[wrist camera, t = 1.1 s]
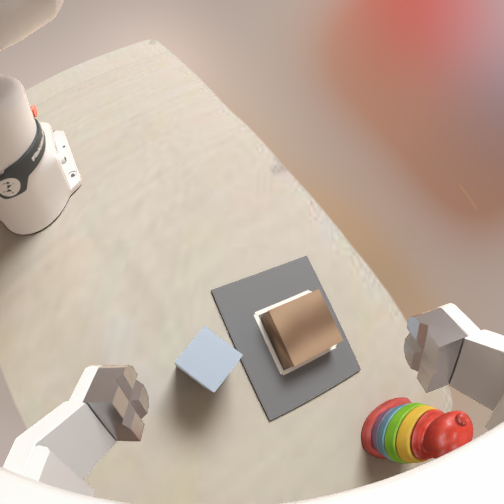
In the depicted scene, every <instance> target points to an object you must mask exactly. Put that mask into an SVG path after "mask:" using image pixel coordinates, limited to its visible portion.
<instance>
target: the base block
mask: <svg viewBox="0 0 504 504" xmlns="http://www.w3.org/2000/svg"><path fill="white" fill-rule="evenodd" d="M261 318H262V320H263V322H264V325H265V327H266V329H267V331H268V333H269V336H270V338H271V340H272V342H273V344H274V347H275V349H276V351H277V353H278V355H279V357H280V360H281V362H282V364H283V366H284V368H287V367H294V366H296V365H298V364H300V363H302V362H304V361H306V360H308V359H310V358H312V357H314V356H316V355H318V354H319V353H321V352H323V351H325V350H327V349H329V348H331V347H332V346H334V345H336V344H338V343H339V342H341V341H343V338H342V336H341V334H340V332H339V330H338V328H337V326H336V324H335V321H334V319H333V317H332V315H331V313H330V311H329V309H328V307H327V305H326V303H325V300H324V298H323V296H322V294H321V292H320V290H319V289H317V290H315V291H313V292H311V293H308V294H306V295H304V296H301V297H299V298H297V299H294V300H292V301H290V302H287V303H285V304H283V305H280V306H278V307H275V308H273V309H271V310H268V311H267V312H266V313H265V314H264V315H262V316H261Z"/></svg>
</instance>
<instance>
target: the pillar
mask: <svg viewBox="0 0 504 504" xmlns="http://www.w3.org/2000/svg"><path fill="white" fill-rule="evenodd" d="M242 356H243V354H241V353H240V352H239V351H237V350H236V349H235V348H233V347H232V346H231V345H229V344H228V343H227V342H225V341H224V340H223V339H221V338H220V337H219V336H217V335H216V334H215V333H214V332H212V331H211V330H210V329H208V328H207V327H206V326H204V327H203V328H202V329H201V331H200V332H199V333H198V334H197V335H196V337H195V338H194V339H193V340H192V342H191V343H190V344H189V345H188V347H187V348H186V349H185V350H184V351H183V353H182V354H181V355H180V356H179V358H178V359H177V360H176V361H175V364H176V366H177V367H178V368H179V369H181V370H182V371H183V372H184V373H186V374H187V375H188V376H190V377H191V378H192V379H194V380H195V381H196V382H198V383H199V384H200V385H202V386H203V387H204V388H206V389H207V390H209V391H212V392H214V393H215V391H216V390H217V389H218V387H219V386H220V385H221V384H222V382H223V381H224V380H225V378H226V377H227V376H228V374H229V373H230V372H231V370H232V369H233V368H234V366H235V365H236V364H237V363H238V361H239V360H240V359H241V357H242Z"/></svg>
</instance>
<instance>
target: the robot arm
mask: <svg viewBox="0 0 504 504" xmlns="http://www.w3.org/2000/svg"><path fill="white" fill-rule="evenodd" d="M63 2H64V0H0V52H1V51H3V50H4V49H6V48H8V47H10V46H12V45H13V44H16V43H18V42H20V41H21V40H23V39H24V38H26V37H27V36H29V35H30V34H32V33H33V32H35V31H36V30H38V29H39V28H41V27H42V26H44V25H45V24H47V23H48V22H50V21H52V20H53V19H54V18H55V17H56V15H57V14H58V12H59V10H60V9H61V6H62V5H63ZM36 116H37V109H36V106H35V105H33V106H31V107H30V105H29V102H28V99H27V96H26V93H25V90H24V87H23V85H22V84H21V83H20V82H19V81H18V80H17V79H15V78H13V77H10V76H6V75H0V221H2V222H3V223H4V224H5V225H6V227H7V228H8V229H9V230H10V231H12V232H14V233H16V234H22V235H25V234H32V233H35V232H38V231H40V230H42V229H43V228H45V227H47V226H48V225H49V224H50V223H52V222H53V221H54V220H55V219H56V218H57V217H58V216H59V214H60V213H61V212H62V210H63V209H64V207H65V205H66V203H67V201H68V199H69V197H70V196H71V194H72V193H73V192H75V191H76V190H77V189H78V188H79V186H80V185H81V183H82V178H81V176H80V173H79V171H78V168H77V165H76V163H75V160H74V157H73V155H72V152H71V149H70V146H69V144H68V141H67V138H66V135H65V133H64V132H63V131H52V128H51V126H50V124H48V123H45V122H40V123H38V121H37V120H36V119H35V118H34V117H36ZM73 176H74V177H73ZM407 329H408V330H409V332H410V333H409V335H408V336H407V338H406V339H405V343H404V352H405V358H406V360H407V363H408V365H409V366H410V368H411V369H413V370H416V371H418V375H417V379H418V381H419V382H420V384H421V386H422V387H423V389H424V390H425V392H426V393H428V392H430V391H433V390H436V389H438V388H441V387H443V386H446V385H448V384H450V385H449V386H451V387H453V388H454V389H456V390H458V391H460V392H461V393H463V394H465V395H467V396H469V397H470V398H472V399H473V400H475V401H477V402H479V403H480V404H482V405H484V406H486V407H487V408H489V409H491V410H493V412H492V414H491V415H490V417H489V419H488V421H487V422H486V425H485V427H486V428H487V430H488V432H486V433H484V434H482V435H481V436H479V437H477V438H476V439H474V440H472V441H470V442H468V443H467V444H465V445H463V446H461V447H459V448H457V449H455V450H453V451H451V452H449V453H447V454H445V455H443V456H441V457H439V458H437V459H434V460H432V461H430V462H428V463H425V464H423V465H421V466H418V467H416V468H413V469H411V470H408V471H406V472H403V473H401V474H398V475H395V476H392V477H390V478H387V479H384V480H381V481H378V482H375V483H371V484H368V485H365V486H361V487H358V488H354V489H351V490H347V491H343V492H339V493H335V494H331V495H326V496H322V497H317V498H312V499H306V500H301V501H295V502H288V503H281V504H504V336H503V335H500V334H497V333H494V332H491V331H488V330H482V331H481V330H480V329H479V328H478V327H477V326H476V325H475V324H474V323H473V322H472V321H471V320H470V319H469V318H468V317H467V316H466V315H465V314H464V313H463V312H462V311H461V310H460V309H459V308H458V307H457V306H455V305H454V304H452V303H449V304H446V305H443V306H440V307H438V308H436V309H433V310H429V311H426V312H423V313H420V314H417V315H414V316H410V318H409V320H408V323H407ZM137 375H138V374H137V372H136V371H135V369H134V367H133V366H130V365H102V366H88V367H87V368H85V370H84V372H83V374H82V376H81V378H80V380H79V382H78V384H77V386H76V388H75V390H74V392H73V394H72V396H71V398H70V400H69V402H66V401H65V402H64V403H62V404H61V405H60V406H58V407H57V408H56V409H54V410H53V411H52V412H50V413H49V414H48V415H46V416H45V417H44V418H42V419H41V420H40V421H38V422H37V423H36V424H34V425H33V426H32V427H30V428H29V429H28V430H26V431H25V432H24V433H22V434H21V435H20V436H18V437H17V438H16V441H15V442H14V444H13V446H12V448H11V451H10V453H9V455H8V457H7V459H6V461H5V464H4V466H3V467H1V466H0V504H132V503H125V502H119V501H113V500H107V499H102V498H97V497H94V495H95V490H94V488H93V487H91V486H90V485H89V484H88V483H86V482H85V481H84V478H85V477H86V476H87V475H88V474H89V473H90V472H91V471H92V469H93V468H94V467H95V466H96V465H97V464H98V463H99V461H100V460H101V459H102V458H103V457H104V456H105V455H106V454H107V452H108V451H109V450H110V449H111V448H112V447H113V446H114V444H115V443H116V441H141V437H142V433H143V429H144V425H145V424H144V423H143V421H142V418H143V417H144V416H145V415H146V414H147V412H148V408H149V397H148V394H147V391H146V389H145V387H144V385H143V384H142V383H140V382H139V381H137V380H136V378H137Z"/></svg>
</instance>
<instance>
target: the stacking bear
mask: <svg viewBox="0 0 504 504" xmlns="http://www.w3.org/2000/svg"><path fill="white" fill-rule="evenodd" d="M472 437H473V425H472V421H471V420H470V418H469V416H468V415H467V414H466V413H465V412H463V411H452V412H448V413H445V414H444V413H443V412H442V411H440V410H438V409H436V408H434V407H431V406H428V405H425V404H420V403H411V402H410V400H409V399H408V398H395V399H391V400H389V401H386V402H384V403H383V404H381V405H380V406H378V407H377V408H376V409H375V410H374V411H373V412H372V413H371V414H370V415H369V416H368V418H367V419H366V421H365V423H364V426H363V429H362V443H363V446H364V448H365V449H366V451H367V452H368V453H370V454H371V455H373V456H375V457H378V458H383V459H389V460H391V461H394V462H398V463H418V462H423V461H426V460H428V459H430V458H435V459H437V458H439V457H441V456H443V455H445V454H447V453H449V452H451V451H453V450H455V449H457V448H459V447H461V446H463V445H465V444H467V443H468V442H470V441H471V440H472Z"/></svg>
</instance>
